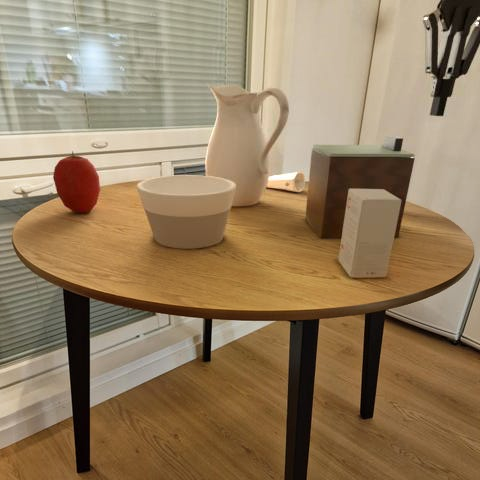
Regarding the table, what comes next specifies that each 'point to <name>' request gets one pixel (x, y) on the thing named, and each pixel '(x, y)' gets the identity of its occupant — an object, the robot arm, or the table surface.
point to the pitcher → (242, 141)
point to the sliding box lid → (367, 149)
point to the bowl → (187, 209)
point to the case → (351, 187)
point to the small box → (368, 232)
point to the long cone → (287, 182)
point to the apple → (77, 183)
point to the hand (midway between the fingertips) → (436, 115)
